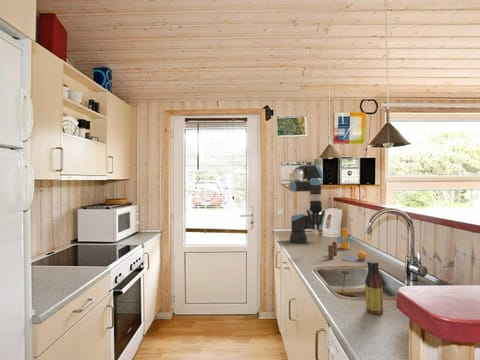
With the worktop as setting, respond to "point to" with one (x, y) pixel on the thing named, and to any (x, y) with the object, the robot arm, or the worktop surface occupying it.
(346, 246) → the orange blue column
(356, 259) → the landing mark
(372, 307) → the sauce bottle
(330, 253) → the post
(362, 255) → the ball
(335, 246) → the post
